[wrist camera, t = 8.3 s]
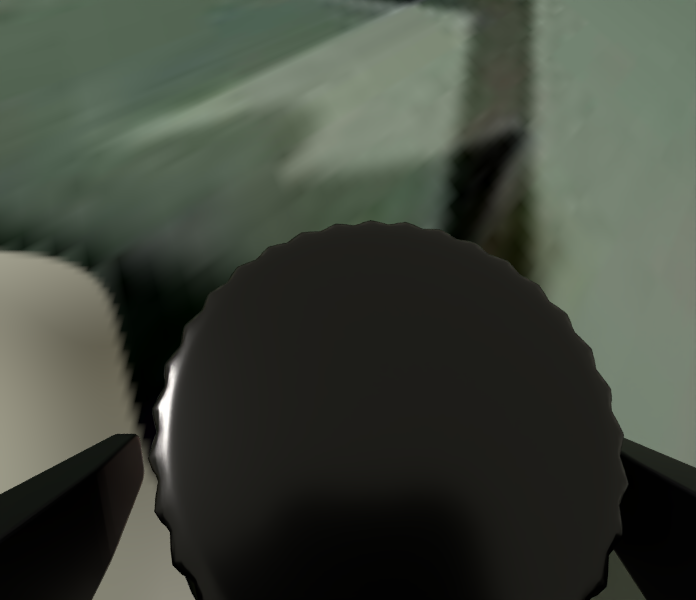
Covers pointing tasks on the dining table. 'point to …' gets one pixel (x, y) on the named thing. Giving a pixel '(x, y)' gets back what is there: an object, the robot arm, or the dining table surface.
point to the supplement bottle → (386, 430)
